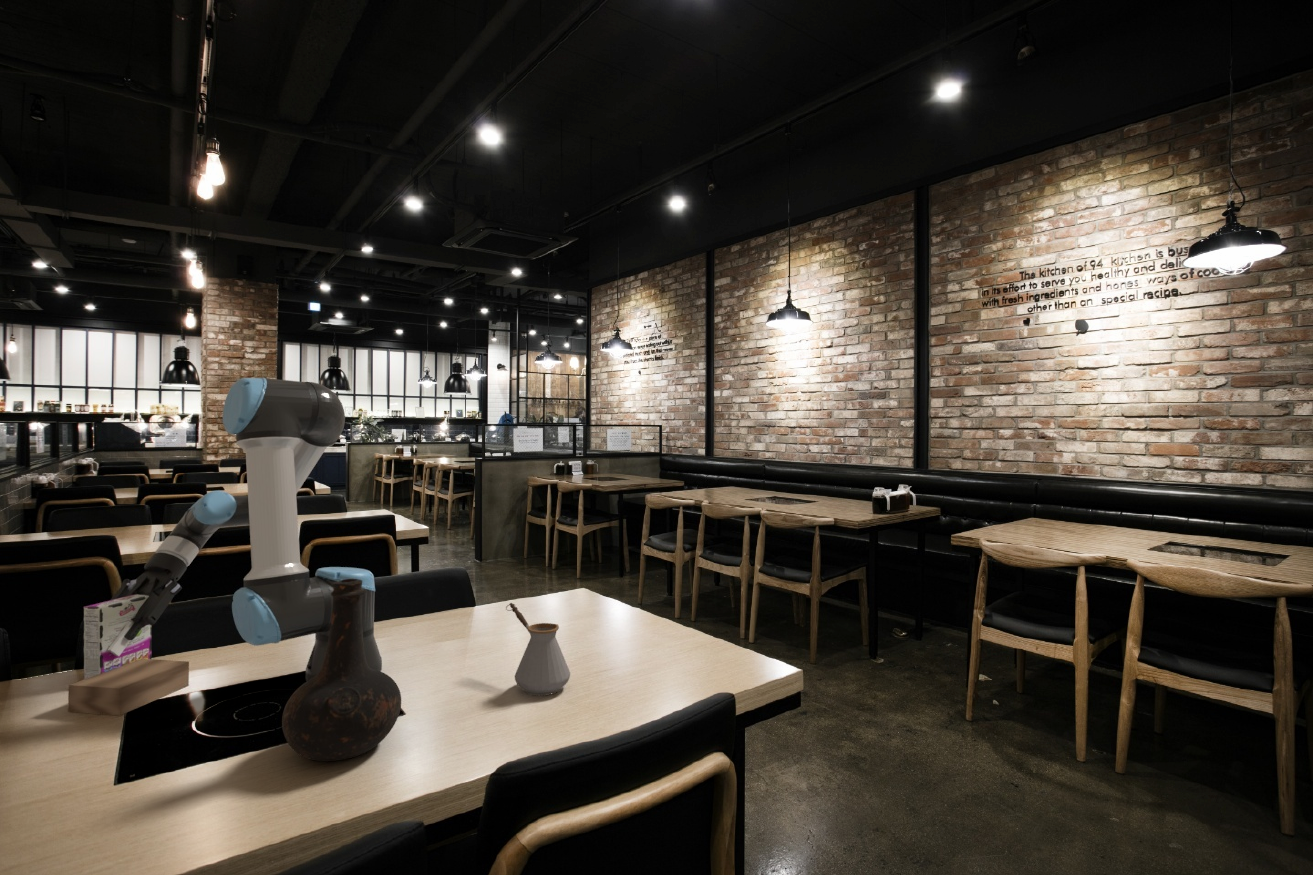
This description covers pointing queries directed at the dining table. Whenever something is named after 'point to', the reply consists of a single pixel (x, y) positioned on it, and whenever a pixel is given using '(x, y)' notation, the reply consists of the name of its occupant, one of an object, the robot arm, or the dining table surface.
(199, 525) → the robot arm
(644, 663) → the dining table surface
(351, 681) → the brown bottle vase
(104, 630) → the candy bar box
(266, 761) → the dining table surface
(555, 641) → the coffee pot
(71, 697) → the walnut plinth
